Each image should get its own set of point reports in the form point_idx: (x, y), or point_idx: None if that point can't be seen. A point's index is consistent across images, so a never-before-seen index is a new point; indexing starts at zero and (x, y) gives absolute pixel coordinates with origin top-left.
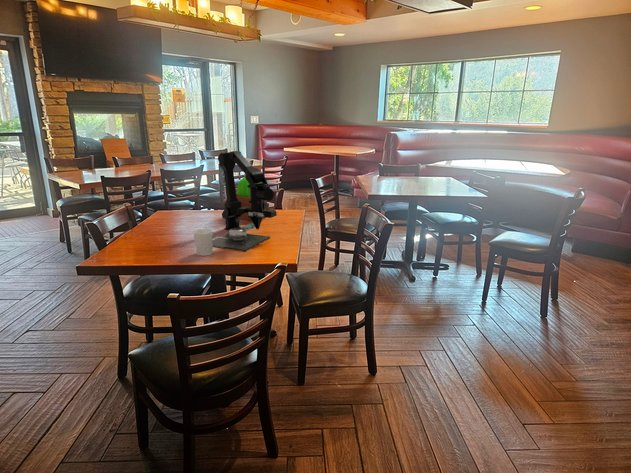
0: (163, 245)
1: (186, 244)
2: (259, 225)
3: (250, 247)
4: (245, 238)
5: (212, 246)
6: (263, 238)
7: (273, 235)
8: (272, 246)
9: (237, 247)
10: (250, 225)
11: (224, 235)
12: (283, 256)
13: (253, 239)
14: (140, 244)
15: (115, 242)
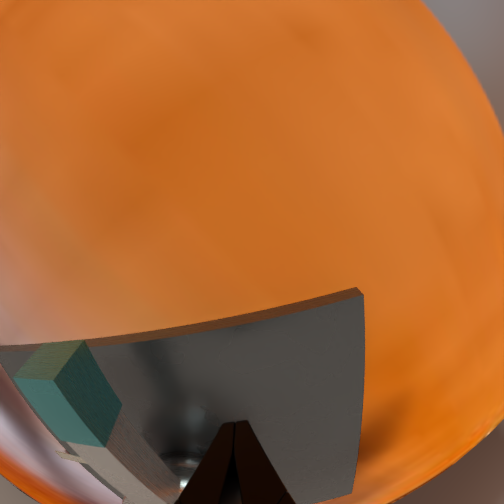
0: (67, 500)
1: (87, 497)
2: (273, 468)
3: (354, 475)
4: (198, 441)
5: None
6: (338, 375)
7: (322, 179)
8: (446, 390)
9: (297, 502)
10: (113, 453)
11: (50, 429)
12: (497, 406)
13: (276, 431)
14: (38, 492)
15: (10, 481)
